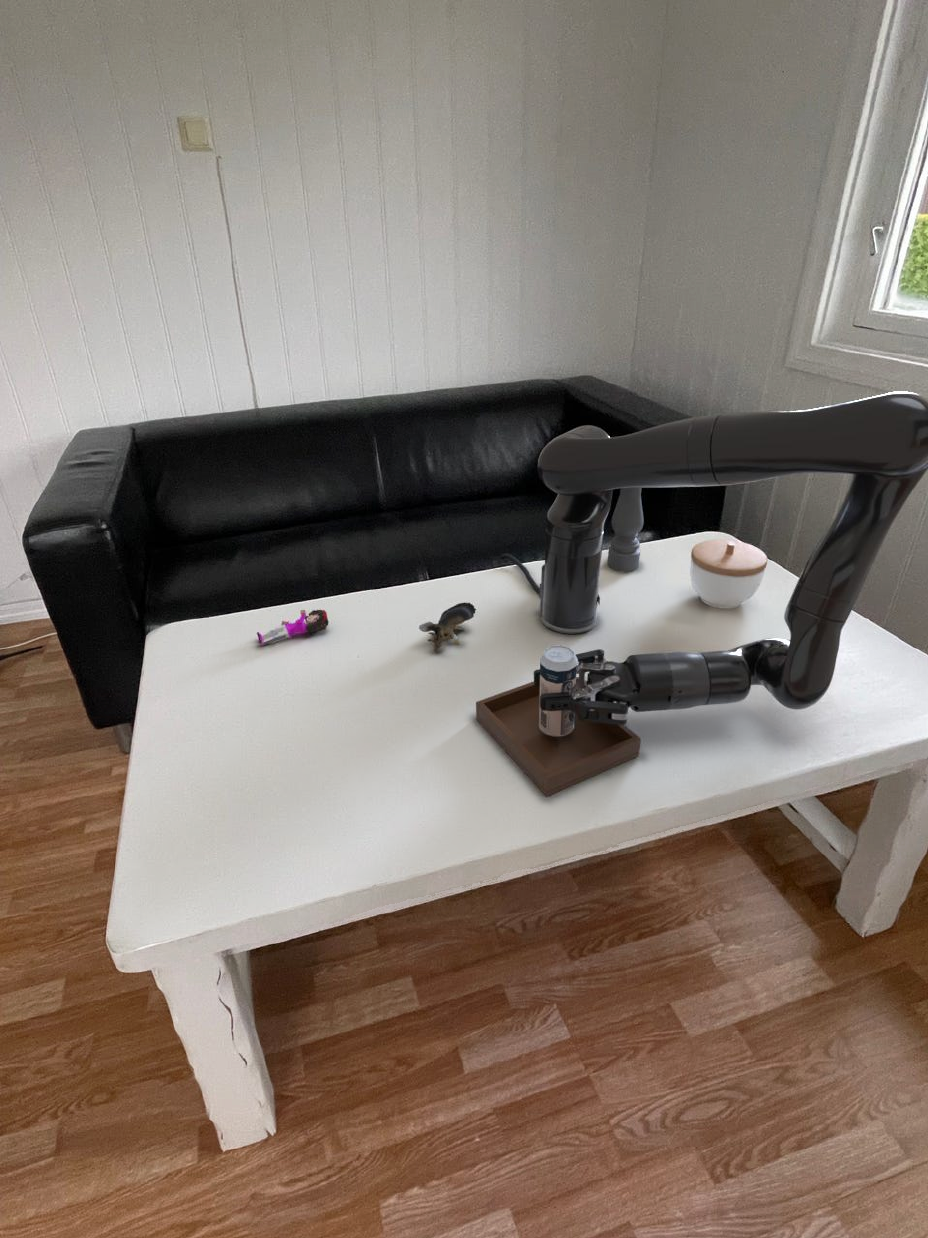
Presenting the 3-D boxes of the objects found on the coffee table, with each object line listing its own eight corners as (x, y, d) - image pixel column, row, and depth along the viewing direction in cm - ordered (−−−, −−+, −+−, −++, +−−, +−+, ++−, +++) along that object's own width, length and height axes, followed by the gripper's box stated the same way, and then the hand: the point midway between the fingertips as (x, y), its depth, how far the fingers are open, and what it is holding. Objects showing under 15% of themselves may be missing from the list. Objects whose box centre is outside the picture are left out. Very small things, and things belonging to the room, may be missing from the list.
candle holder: (641, 561, 141) (656, 438, 128) (634, 574, 136) (649, 448, 123) (611, 556, 143) (623, 435, 130) (603, 568, 138) (614, 444, 125)
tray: (475, 718, 99) (475, 701, 97) (560, 687, 105) (561, 671, 103) (546, 797, 86) (547, 779, 84) (638, 756, 91) (641, 738, 90)
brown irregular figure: (466, 653, 111) (486, 618, 117) (439, 621, 109) (461, 586, 115) (433, 664, 116) (454, 629, 122) (407, 633, 114) (429, 599, 120)
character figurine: (264, 656, 116) (334, 633, 119) (255, 631, 113) (326, 607, 116) (259, 640, 120) (326, 618, 123) (250, 615, 118) (319, 593, 121)
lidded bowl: (753, 586, 131) (764, 531, 125) (761, 620, 120) (775, 562, 114) (683, 580, 133) (691, 526, 128) (685, 613, 123) (695, 556, 117)
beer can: (572, 741, 92) (576, 666, 86) (536, 737, 93) (538, 662, 87) (575, 718, 96) (579, 645, 90) (540, 715, 97) (542, 642, 91)
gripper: (652, 628, 96) (529, 636, 95) (688, 690, 83) (547, 700, 83) (647, 673, 100) (528, 681, 99) (680, 738, 87) (545, 748, 87)
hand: (537, 690), depth 91 cm, fingers closed on beer can, 4 cm apart
